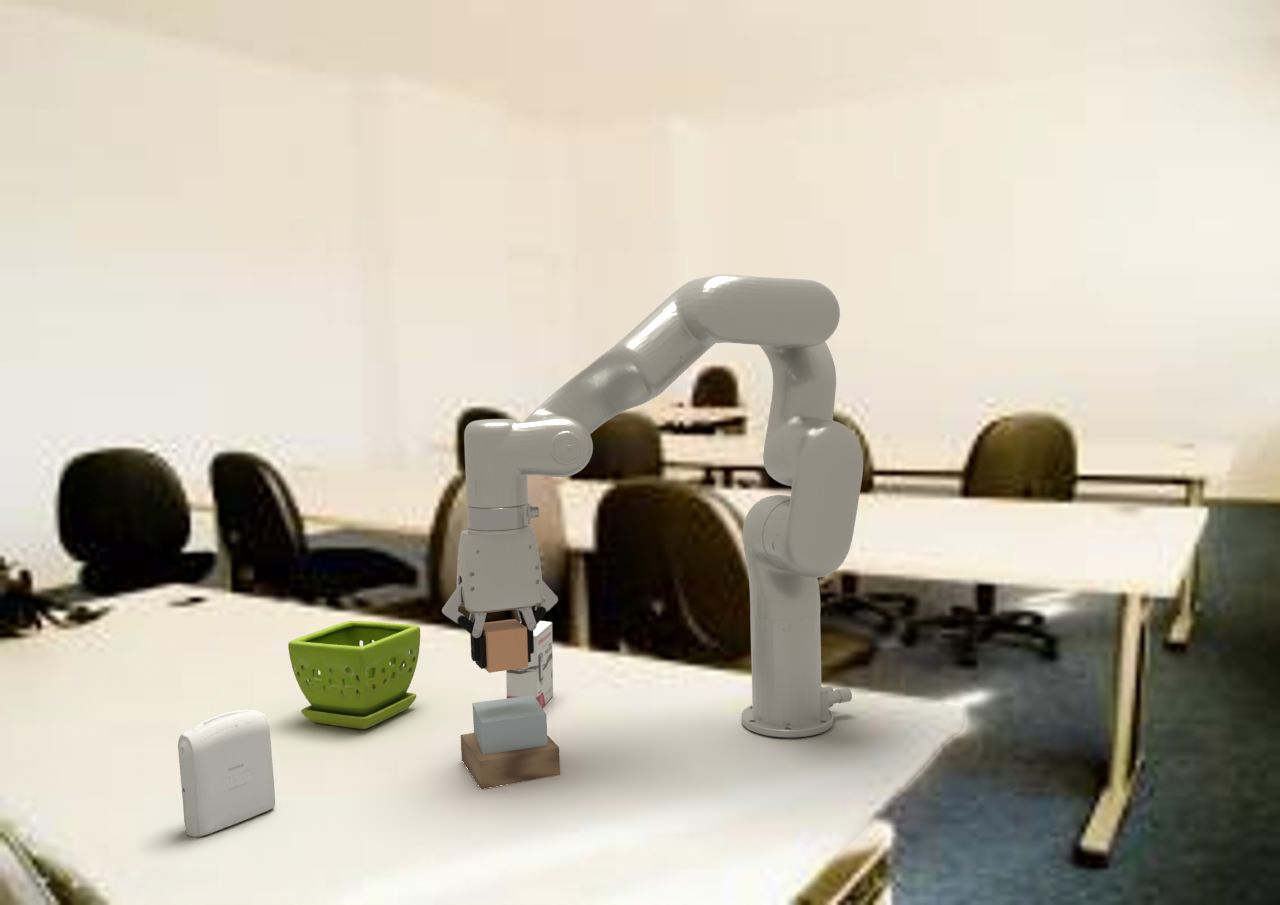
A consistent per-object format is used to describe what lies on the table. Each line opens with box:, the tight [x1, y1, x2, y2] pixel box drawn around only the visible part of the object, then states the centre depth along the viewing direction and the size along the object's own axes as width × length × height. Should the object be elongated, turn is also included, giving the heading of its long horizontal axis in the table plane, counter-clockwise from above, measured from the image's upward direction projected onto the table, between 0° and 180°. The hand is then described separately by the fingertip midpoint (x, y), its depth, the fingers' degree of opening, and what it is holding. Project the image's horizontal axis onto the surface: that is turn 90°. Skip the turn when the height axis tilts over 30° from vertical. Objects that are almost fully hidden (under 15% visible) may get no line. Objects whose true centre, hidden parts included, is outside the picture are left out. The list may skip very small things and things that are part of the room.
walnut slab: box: [460, 732, 561, 790], centre depth 134 cm, size 10×10×4 cm
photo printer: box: [177, 709, 276, 838], centre depth 121 cm, size 10×4×12 cm, turn 140°
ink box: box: [505, 620, 554, 708], centre depth 158 cm, size 9×5×12 cm, turn 168°
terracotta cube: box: [482, 618, 528, 674], centre depth 133 cm, size 5×5×5 cm
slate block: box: [472, 695, 548, 755], centre depth 134 cm, size 8×8×4 cm
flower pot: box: [287, 620, 421, 730], centre depth 155 cm, size 14×14×13 cm
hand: (503, 661), depth 133 cm, fingers closed on terracotta cube, 5 cm apart
